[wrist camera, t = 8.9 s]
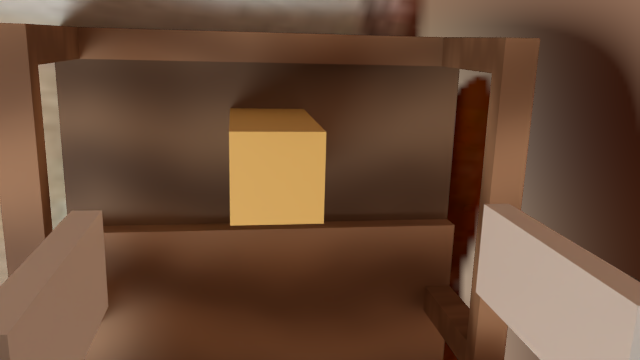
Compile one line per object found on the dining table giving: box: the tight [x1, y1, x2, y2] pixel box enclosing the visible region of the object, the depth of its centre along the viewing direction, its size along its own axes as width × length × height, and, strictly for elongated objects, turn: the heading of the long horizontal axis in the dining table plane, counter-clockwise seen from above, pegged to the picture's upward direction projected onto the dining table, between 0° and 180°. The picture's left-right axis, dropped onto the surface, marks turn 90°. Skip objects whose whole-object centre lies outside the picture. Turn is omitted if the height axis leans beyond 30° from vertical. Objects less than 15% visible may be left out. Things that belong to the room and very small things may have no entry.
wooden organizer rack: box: [0, 23, 540, 360], centre depth 30 cm, size 30×22×10 cm
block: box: [229, 108, 326, 226], centre depth 28 cm, size 4×4×8 cm
